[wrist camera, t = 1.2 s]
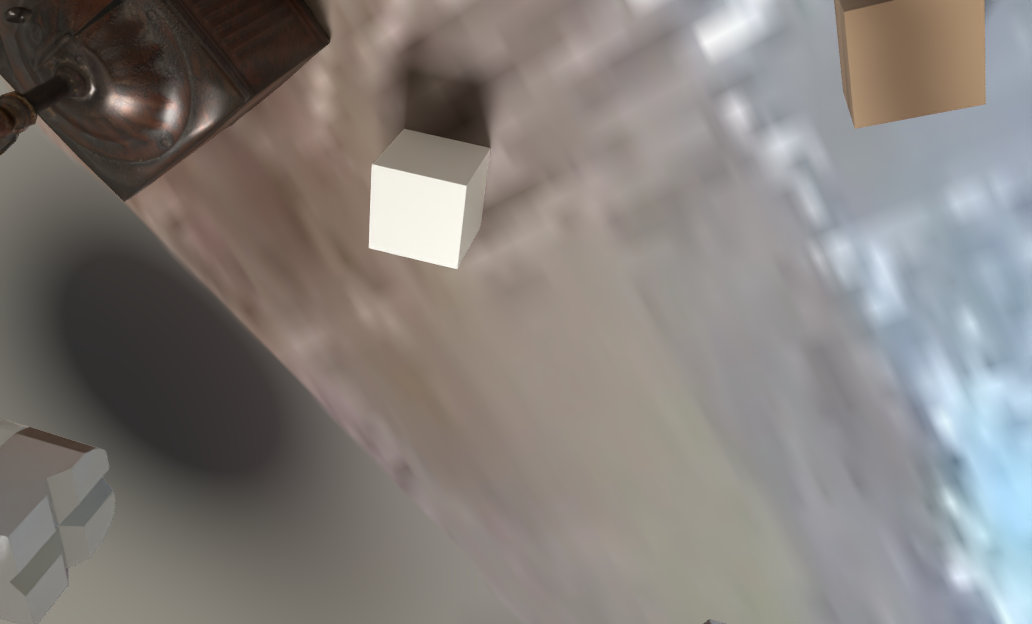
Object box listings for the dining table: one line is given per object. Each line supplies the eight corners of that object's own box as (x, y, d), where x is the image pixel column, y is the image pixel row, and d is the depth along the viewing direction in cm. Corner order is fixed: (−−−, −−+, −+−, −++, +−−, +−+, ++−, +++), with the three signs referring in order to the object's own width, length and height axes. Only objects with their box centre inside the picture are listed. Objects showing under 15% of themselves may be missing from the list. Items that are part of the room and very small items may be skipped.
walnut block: (956, -47, 35) (983, -21, 31) (959, 66, 38) (985, 104, 34) (832, -16, 37) (843, 11, 33) (843, 90, 39) (854, 128, 35)
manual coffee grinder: (189, -153, 40) (-128, -101, 25) (337, 42, 44) (137, 184, 29) (28, 26, 47) (-288, 145, 33) (167, 179, 51) (-61, 347, 37)
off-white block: (491, 147, 45) (466, 185, 41) (481, 226, 48) (457, 269, 44) (404, 128, 46) (371, 164, 42) (399, 207, 49) (368, 247, 45)
